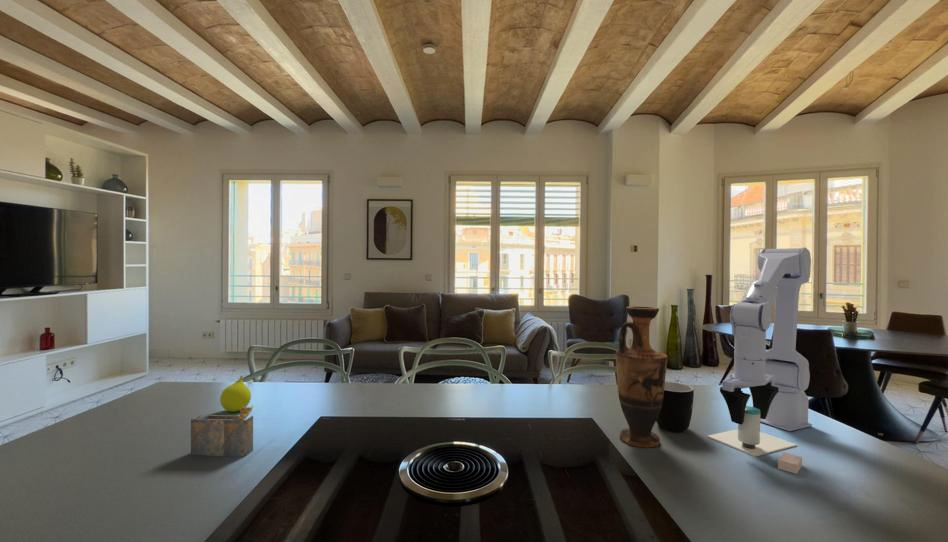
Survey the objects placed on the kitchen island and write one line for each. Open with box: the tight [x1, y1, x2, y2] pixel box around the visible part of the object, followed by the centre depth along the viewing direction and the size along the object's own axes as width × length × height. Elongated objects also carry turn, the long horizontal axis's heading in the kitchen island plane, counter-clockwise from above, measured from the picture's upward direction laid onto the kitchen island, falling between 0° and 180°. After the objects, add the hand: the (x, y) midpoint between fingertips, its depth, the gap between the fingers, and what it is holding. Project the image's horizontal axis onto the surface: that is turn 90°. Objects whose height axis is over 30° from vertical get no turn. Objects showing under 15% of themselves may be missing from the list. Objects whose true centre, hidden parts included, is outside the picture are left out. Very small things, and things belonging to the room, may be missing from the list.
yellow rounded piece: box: [219, 371, 252, 413], centre depth 112 cm, size 7×7×10 cm
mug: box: [655, 381, 695, 434], centre depth 105 cm, size 12×9×10 cm
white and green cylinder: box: [737, 405, 761, 449], centre depth 92 cm, size 4×4×8 cm
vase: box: [615, 305, 669, 448], centre depth 96 cm, size 11×11×30 cm
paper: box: [706, 428, 798, 457], centre depth 96 cm, size 14×11×1 cm
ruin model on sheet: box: [190, 405, 254, 457], centre depth 87 cm, size 11×3×10 cm, turn 89°
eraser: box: [777, 451, 803, 475], centre depth 84 cm, size 5×3×2 cm, turn 134°
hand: (748, 420), depth 92 cm, fingers open, 7 cm apart
